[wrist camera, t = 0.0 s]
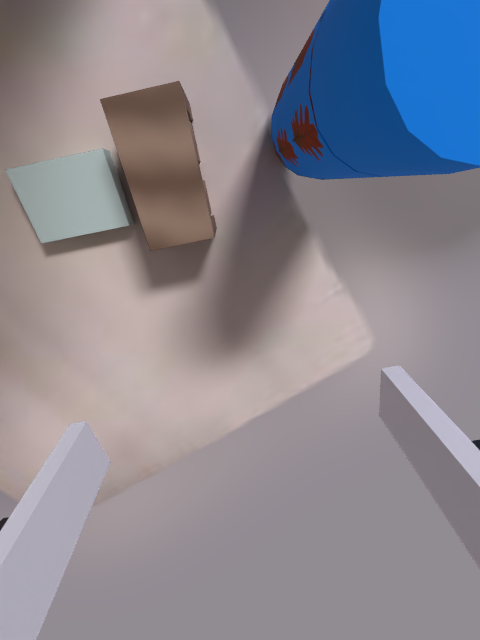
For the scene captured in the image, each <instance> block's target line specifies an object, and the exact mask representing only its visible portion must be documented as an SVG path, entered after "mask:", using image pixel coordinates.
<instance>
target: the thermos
mask: <svg viewBox="0 0 480 640" xmlns="http://www.w3.org/2000/svg"><path fill="white" fill-rule="evenodd" d="M271 137H272V141H273V144H274V148H275V152H276V154H277V156H278V157H279V158H280V160H281V161H282V163H283V164H284V166H285V167H286V168H288V169H289V170H291V171H292V172H294V173H295V174H297V175H300V176H305V177H310V178H316V179H322V180H323V179H344V178H366V177H388V176H410V175H432V174H450V173H455V172H460V171H465V170H470V169H475V168H479V167H480V0H330V1H329V3H328V4H327V6H326V8H325V10H324V11H323V13H322V15H321V17H320V19H319V21H318V22H317V24H316V26H315V28H314V29H313V31H312V33H311V35H310V37H309V39H308V40H307V42H306V44H305V45H304V47H303V49H302V51H301V53H300V54H299V56H298V58H297V60H296V62H295V63H294V65H293V67H292V69H291V71H290V72H289V74H288V76H287V78H286V80H285V81H284V83H283V85H282V88H281V91H280V93H279V96H278V99H277V102H276V105H275V108H274V111H273V114H272V125H271Z"/></svg>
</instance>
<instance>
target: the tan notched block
mask: <svg viewBox="0 0 480 640" xmlns="http://www.w3.org/2000/svg"><path fill="white" fill-rule="evenodd" d="M100 101H101V104H102V107H103V110H104V113H105V116H106V119H107V122H108V125H109V128H110V131H111V134H112V137H113V140H114V143H115V146H116V149H117V152H118V155H119V158H120V161H121V164H122V167H123V170H124V173H125V176H126V179H127V182H128V185H129V188H130V191H131V194H132V197H133V200H134V203H135V206H136V209H137V212H138V215H139V218H140V221H141V224H142V227H143V230H144V233H145V236H146V239H147V242H148V245H149V248H150V251H152V250H157V249H162V248H167V247H172V246H177V245H182V244H187V243H191V242H196V241H201V240H206V239H211V238H215V233H216V229H217V227H216V223H215V218H214V215H213V216H210V214H211V208H210V203H209V198H208V194H207V189H206V185H205V181H204V180H202V176H201V171H200V167H199V163H198V162H200V158H199V153H198V149H197V144H196V140H195V135H194V131H193V126H192V124H191V122H190V121H192V120H193V118H192V113H191V108H190V104H189V101H188V99H187V97H186V95H185V92H184V90H183V88H182V86H181V84H180V82H179V81H177V82H172V83H168V84H164V85H159V86H155V87H151V88H147V89H142V90H138V91H134V92H129V93H125V94H121V95H116V96H112V97H108V98H103V99H100Z"/></svg>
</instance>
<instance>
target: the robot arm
mask: <svg viewBox="0 0 480 640" xmlns="http://www.w3.org/2000/svg"><path fill="white" fill-rule="evenodd" d="M379 410H380V411H379V416H380V418H381V419H382V421H383V422H384V424H385V425H386V427H387V428H388V430H389V431H390V433H391V435H392V436H393V438H394V439H395V441H396V442H397V444H398V445H399V447H400V448H401V450H402V451H403V453H404V454H405V456H406V457H407V459H408V461H409V462H410V464H411V465H412V467H413V468H414V469H415V471H416V473H417V474H418V476H419V477H420V479H421V480H422V482H423V483H424V485H425V486H426V488H427V490H428V491H429V493H430V494H431V496H432V497H433V499H434V500H435V502H436V503H437V505H438V506H439V508H440V509H441V511H442V512H443V514H444V515H445V517H446V518H447V520H448V522H449V523H450V525H451V526H452V528H453V529H454V531H455V532H456V534H457V535H458V537H459V538H460V540H461V541H462V543H463V544H464V545H465V547H466V549H467V550H468V552H469V554H470V555H471V556H472V558H473V560H474V561H475V563H476V564H477V566H478V567H479V569H480V440H475V441H470V440H469V439H468V438H467V436H466V435H465V434H464V433H463V432H462V431H461V430H460V429H459V428H458V427H457V426H456V425H455V424H454V423H453V422H452V421H451V420H450V418H449V417H447V415H446V414H445V413H444V412H443V411H442V410H441V409H440V408H439V407H438V406H437V405H436V404H435V403H434V402H433V401H432V400H431V399H430V398H429V396H428V395H427V394H426V393H425V392H424V391H423V390H422V389H421V388H420V387H419V386H418V385H417V384H416V383H415V382H414V381H413V379H412V378H411V377H410V376H409V375H408V374H407V373H406V372H405V371H404V370H403V369H402V368H401V367H400V366H394V367H388V368H382V369H381V385H380V409H379ZM110 462H111V461H110V459H109V458H108V456H107V454H106V453H105V451H104V449H103V448H102V446H101V444H100V443H99V441H98V439H97V437H96V436H95V434H94V432H93V431H92V429H91V427H90V426H89V424H88V422H87V421H83V422H78V423H72V424H70V425H69V427H68V428H67V430H66V431H65V433H64V434H63V436H62V437H61V439H60V440H59V442H58V444H57V445H56V447H55V448H54V450H53V451H52V453H51V454H50V456H49V457H48V459H47V460H46V462H45V463H44V465H43V466H42V468H41V470H40V471H39V473H38V474H37V476H36V477H35V479H34V480H33V482H32V483H31V485H30V486H29V488H28V489H27V491H26V493H25V494H24V496H23V497H22V499H21V500H20V502H19V503H18V505H17V506H16V508H15V509H14V511H13V512H12V514H11V516H10V517H8V518H3V519H2V520H1V521H0V640H36V638H37V636H38V633H39V631H40V629H41V626H42V624H43V621H44V619H45V617H46V614H47V612H48V610H49V607H50V605H51V603H52V600H53V598H54V595H55V593H56V590H57V588H58V586H59V584H60V581H61V579H62V576H63V574H64V571H65V569H66V567H67V564H68V562H69V560H70V557H71V555H72V553H73V550H74V548H75V545H76V543H77V541H78V538H79V536H80V533H81V531H82V529H83V526H84V524H85V521H86V519H87V517H88V514H89V512H90V510H91V507H92V505H93V502H94V500H95V498H96V495H97V493H98V491H99V488H100V486H101V483H102V481H103V479H104V476H105V474H106V471H107V469H108V467H109V464H110Z"/></svg>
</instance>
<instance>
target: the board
mask: <svg viewBox="0 0 480 640" xmlns="http://www.w3.org/2000/svg"><path fill="white" fill-rule="evenodd" d="M5 171H6V173H7V175H8V177H9V179H10V181H11V183H12V185H13V187H14V189H15V191H16V193H17V195H18V197H19V199H20V201H21V203H22V205H23V207H24V209H25V211H26V213H27V215H28V217H29V219H30V221H31V223H32V225H33V227H34V229H35V231H36V234H37V236H38V238H39V240H40V242H41V243H46V242H51V241H56V240H61V239H66V238H71V237H75V236H80V235H85V234H90V233H95V232H100V231H105V230H110V229H115V228H119V227H124V226H129V225H132V224H134V221H133V218H132V215H131V212H130V209H129V206H128V203H127V200H126V197H125V194H124V191H123V189H122V186H121V183H120V180H119V177H118V174H117V171H116V168H115V165H114V162H113V159H112V156H111V153H110V150H106V149H103V148H102V149H98V150H93V151H88V152H84V153H79V154H75V155H70V156H65V157H61V158H56V159H52V160H47V161H42V162H38V163H33V164H29V165H24V166H19V167H15V168H10V169H6V170H5Z"/></svg>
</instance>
